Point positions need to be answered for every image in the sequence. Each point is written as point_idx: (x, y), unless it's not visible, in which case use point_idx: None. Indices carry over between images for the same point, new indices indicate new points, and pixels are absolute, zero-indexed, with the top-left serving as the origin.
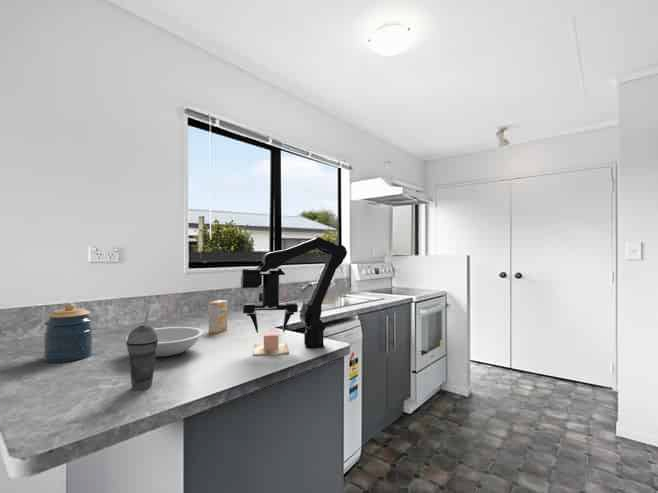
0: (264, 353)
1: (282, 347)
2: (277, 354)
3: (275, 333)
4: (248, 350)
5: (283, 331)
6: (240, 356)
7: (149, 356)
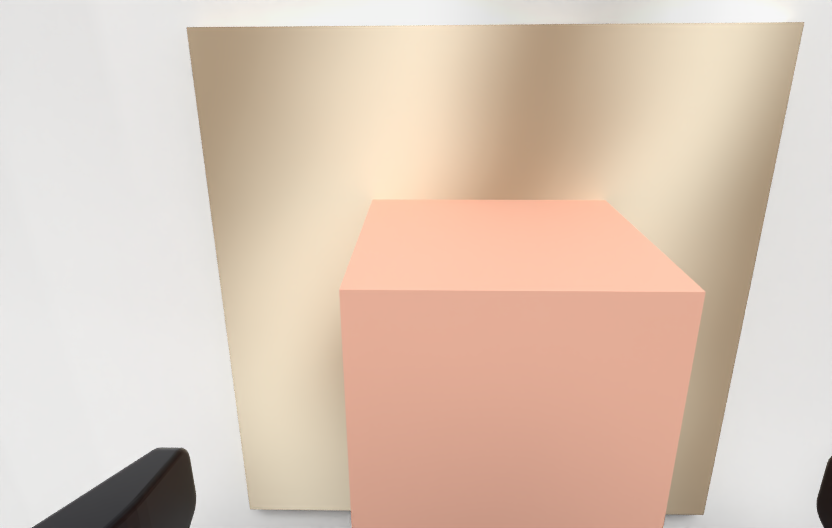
0: None
1: None
2: None
3: (619, 410)
4: (156, 265)
5: (828, 523)
6: None
7: None
